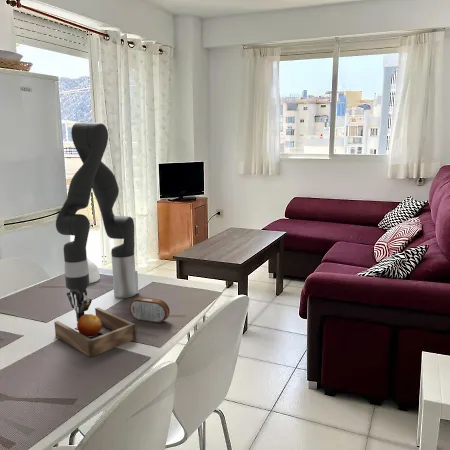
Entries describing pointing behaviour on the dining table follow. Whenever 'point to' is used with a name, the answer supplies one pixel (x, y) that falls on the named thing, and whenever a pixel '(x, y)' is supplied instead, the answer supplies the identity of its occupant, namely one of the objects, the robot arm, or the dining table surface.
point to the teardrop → (93, 271)
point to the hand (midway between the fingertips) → (80, 321)
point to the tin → (149, 309)
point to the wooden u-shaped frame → (95, 346)
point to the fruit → (89, 325)
